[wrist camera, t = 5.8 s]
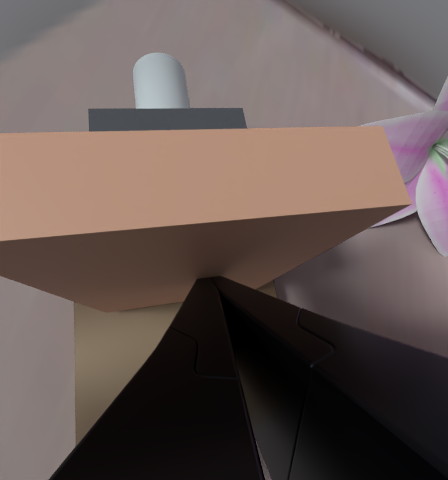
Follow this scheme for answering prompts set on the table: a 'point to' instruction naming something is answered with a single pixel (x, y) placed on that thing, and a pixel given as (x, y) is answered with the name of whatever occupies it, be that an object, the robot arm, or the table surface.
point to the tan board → (115, 352)
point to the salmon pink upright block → (183, 201)
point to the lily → (423, 166)
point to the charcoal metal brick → (165, 119)
